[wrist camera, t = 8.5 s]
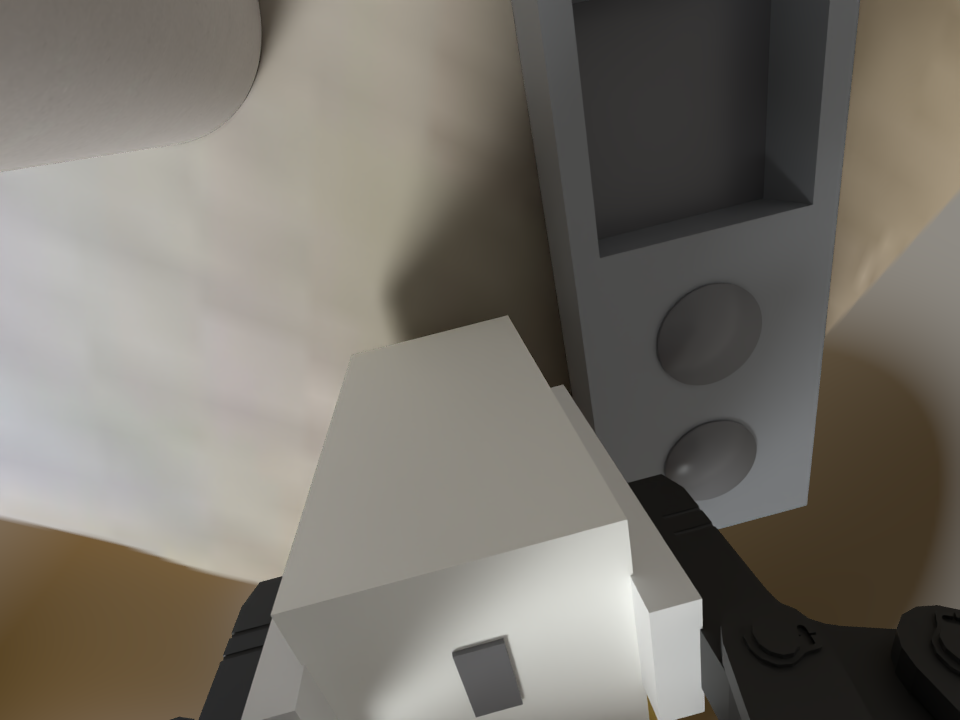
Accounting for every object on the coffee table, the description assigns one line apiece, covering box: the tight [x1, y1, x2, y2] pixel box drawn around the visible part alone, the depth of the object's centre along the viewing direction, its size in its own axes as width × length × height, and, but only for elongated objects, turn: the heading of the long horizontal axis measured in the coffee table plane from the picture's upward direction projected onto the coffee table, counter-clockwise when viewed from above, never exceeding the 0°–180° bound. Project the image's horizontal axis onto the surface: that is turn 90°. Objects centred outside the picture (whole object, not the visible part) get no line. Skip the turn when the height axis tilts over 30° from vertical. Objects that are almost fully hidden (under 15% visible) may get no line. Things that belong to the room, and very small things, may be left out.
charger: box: [271, 315, 649, 720], centre depth 11 cm, size 5×5×9 cm
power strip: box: [511, 0, 860, 529], centre depth 15 cm, size 22×8×3 cm, turn 12°
